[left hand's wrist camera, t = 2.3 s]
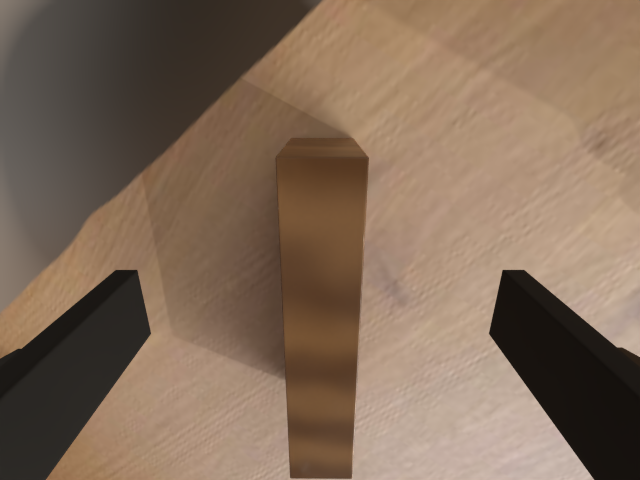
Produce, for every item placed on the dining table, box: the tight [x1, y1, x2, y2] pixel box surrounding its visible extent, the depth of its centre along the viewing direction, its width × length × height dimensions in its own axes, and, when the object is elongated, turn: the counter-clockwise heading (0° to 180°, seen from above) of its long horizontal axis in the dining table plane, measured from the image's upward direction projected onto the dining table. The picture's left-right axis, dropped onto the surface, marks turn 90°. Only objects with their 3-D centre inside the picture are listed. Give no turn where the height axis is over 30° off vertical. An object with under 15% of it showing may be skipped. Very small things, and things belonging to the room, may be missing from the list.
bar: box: [276, 138, 369, 479], centre depth 26 cm, size 24×5×9 cm, turn 0°
